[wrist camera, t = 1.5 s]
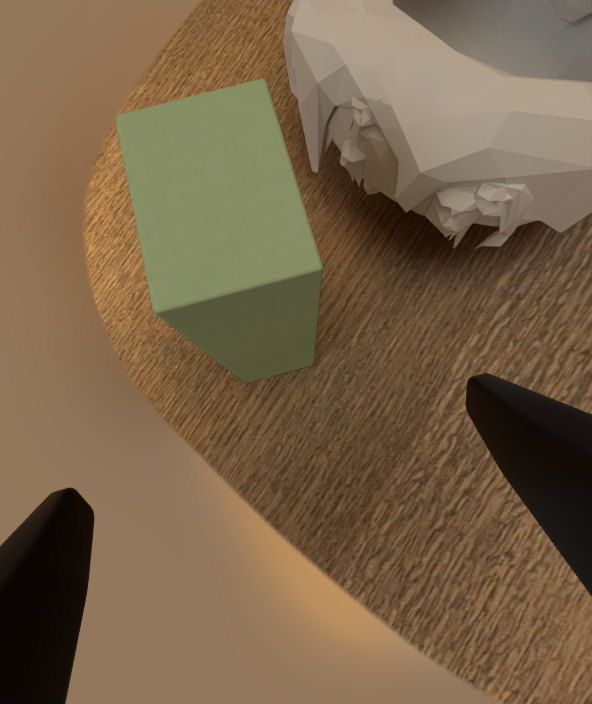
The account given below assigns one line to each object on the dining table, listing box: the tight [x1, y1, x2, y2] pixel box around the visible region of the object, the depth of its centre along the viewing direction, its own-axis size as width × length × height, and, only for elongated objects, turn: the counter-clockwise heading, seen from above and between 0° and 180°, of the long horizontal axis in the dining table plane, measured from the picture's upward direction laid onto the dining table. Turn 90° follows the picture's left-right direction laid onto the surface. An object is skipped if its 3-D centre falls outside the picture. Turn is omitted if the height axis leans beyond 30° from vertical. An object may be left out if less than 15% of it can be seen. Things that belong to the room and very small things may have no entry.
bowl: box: [283, 0, 592, 249], centre depth 19 cm, size 21×20×10 cm
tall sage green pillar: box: [115, 79, 323, 383], centre depth 15 cm, size 4×6×13 cm
